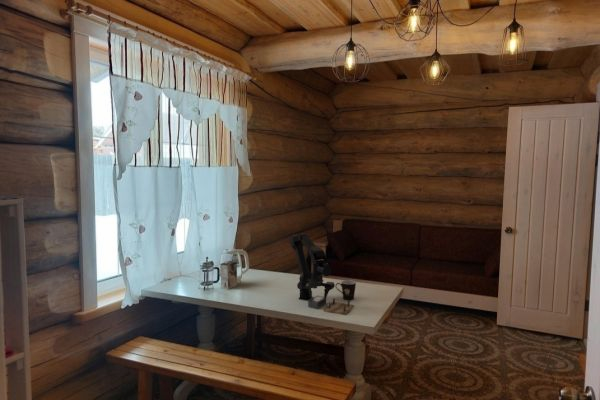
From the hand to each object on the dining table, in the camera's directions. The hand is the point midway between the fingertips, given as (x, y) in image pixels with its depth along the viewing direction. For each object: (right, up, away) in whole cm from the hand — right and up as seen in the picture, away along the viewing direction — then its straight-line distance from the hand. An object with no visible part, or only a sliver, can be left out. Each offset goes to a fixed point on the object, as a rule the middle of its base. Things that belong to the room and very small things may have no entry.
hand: (317, 298), depth 231 cm
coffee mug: (+18, -3, +13) cm, 22 cm away
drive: (0, -4, 0) cm, 4 cm away
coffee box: (-56, -1, +34) cm, 65 cm away
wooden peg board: (+12, -5, -5) cm, 14 cm away
